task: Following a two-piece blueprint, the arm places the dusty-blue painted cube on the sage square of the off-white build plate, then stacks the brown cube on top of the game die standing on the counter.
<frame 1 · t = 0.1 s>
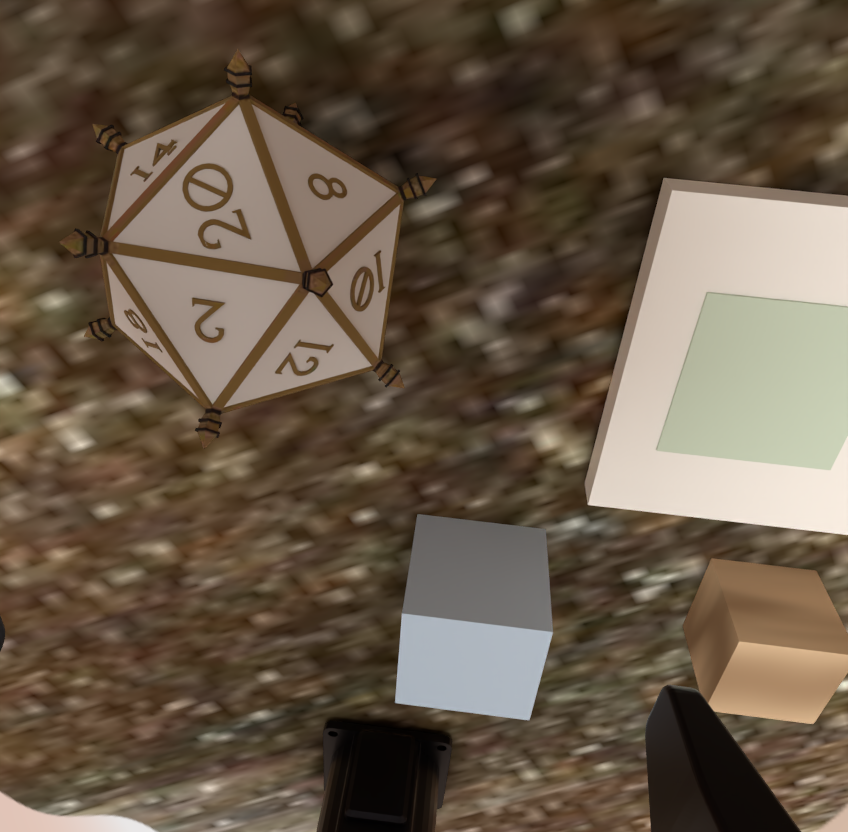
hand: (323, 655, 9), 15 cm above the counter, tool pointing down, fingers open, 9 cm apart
game die: (294, 208, 21), on the counter
brown cube: (745, 597, 28), on the counter
build plate: (760, 366, 22), on the counter
blue block: (474, 565, 29), on the counter
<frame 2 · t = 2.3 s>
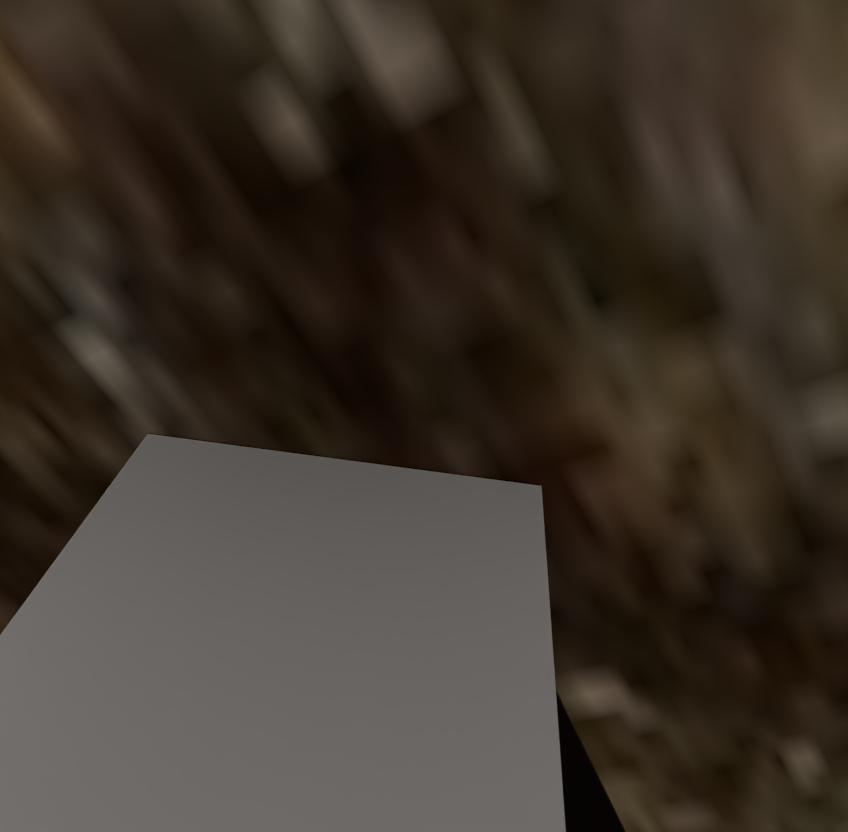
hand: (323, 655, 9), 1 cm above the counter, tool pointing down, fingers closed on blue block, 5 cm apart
blue block: (338, 594, 10), on the counter, touching gripper
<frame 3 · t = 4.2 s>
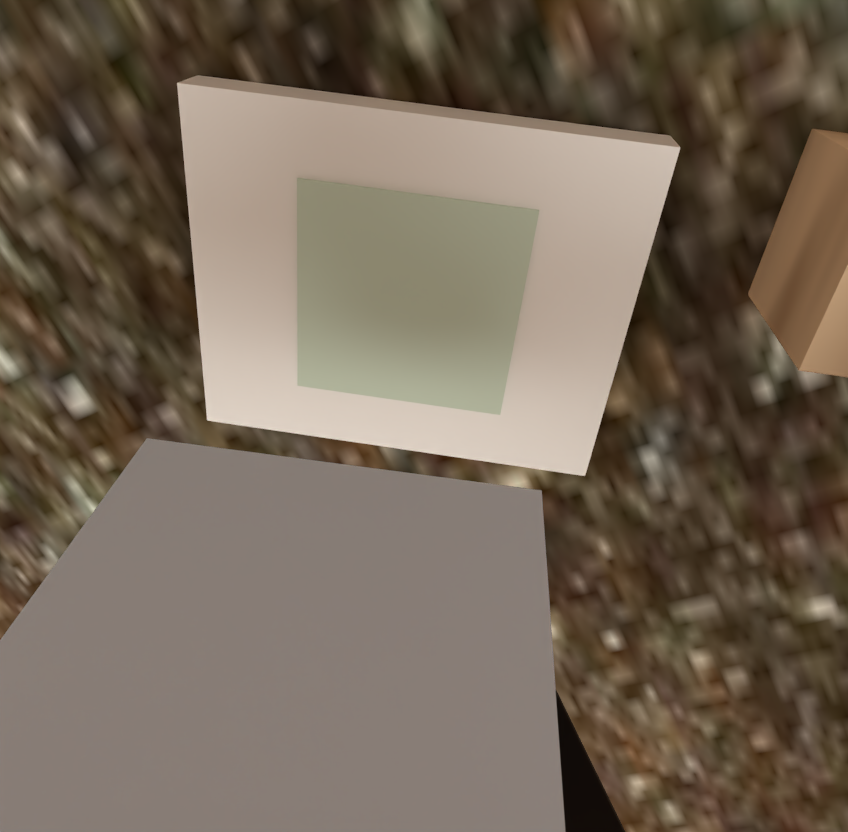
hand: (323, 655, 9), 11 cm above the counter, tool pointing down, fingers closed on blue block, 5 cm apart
build plate: (413, 286, 19), on the counter
blue block: (338, 599, 10), point 10 cm above the counter, touching gripper
when the fingers open (4 cm above the counter, at t = 6.0 s): blue block drops 1 cm, resting on build plate.
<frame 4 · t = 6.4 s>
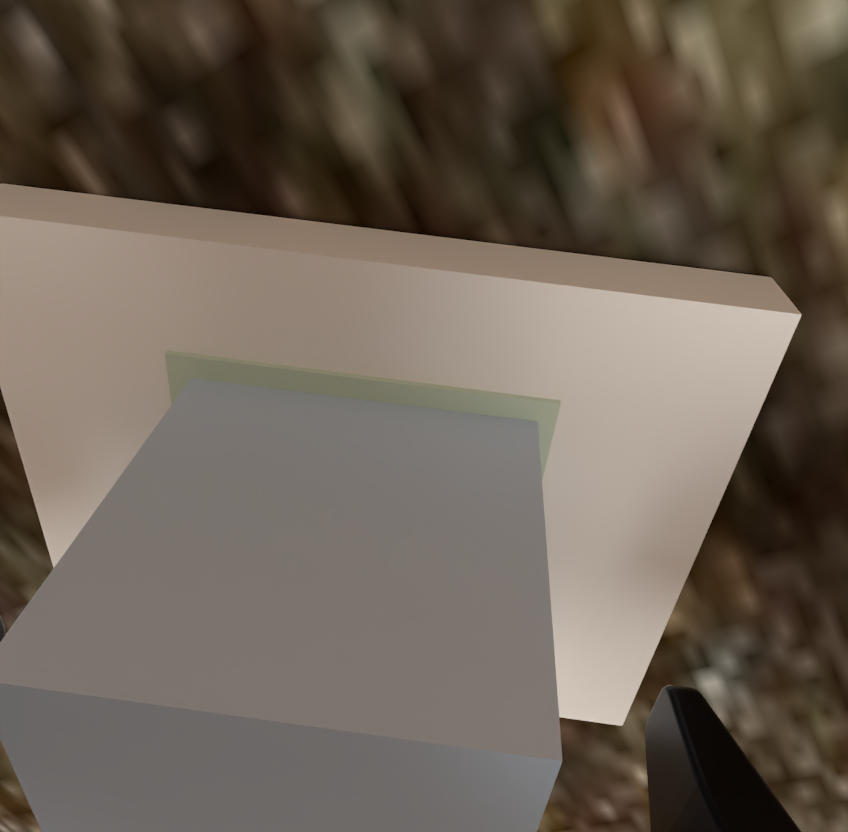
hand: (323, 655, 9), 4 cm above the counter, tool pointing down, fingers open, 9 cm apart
build plate: (367, 475, 12), on the counter
blue block: (357, 528, 11), point 1 cm above the counter, touching build plate
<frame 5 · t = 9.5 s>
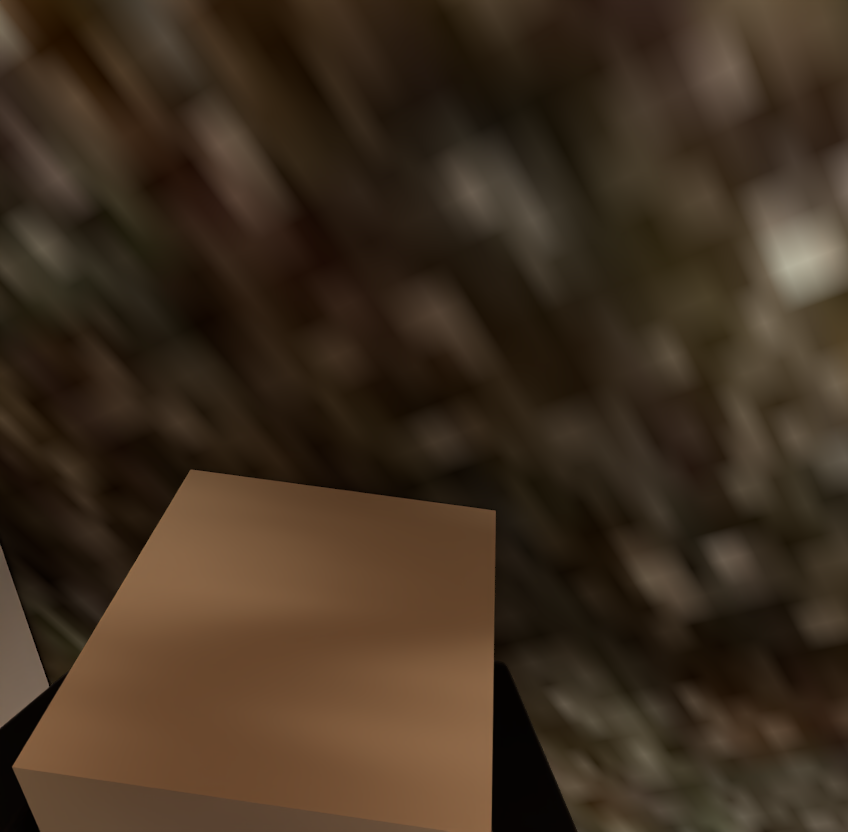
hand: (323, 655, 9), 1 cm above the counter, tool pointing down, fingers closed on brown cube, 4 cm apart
brown cube: (338, 594, 10), on the counter, touching gripper
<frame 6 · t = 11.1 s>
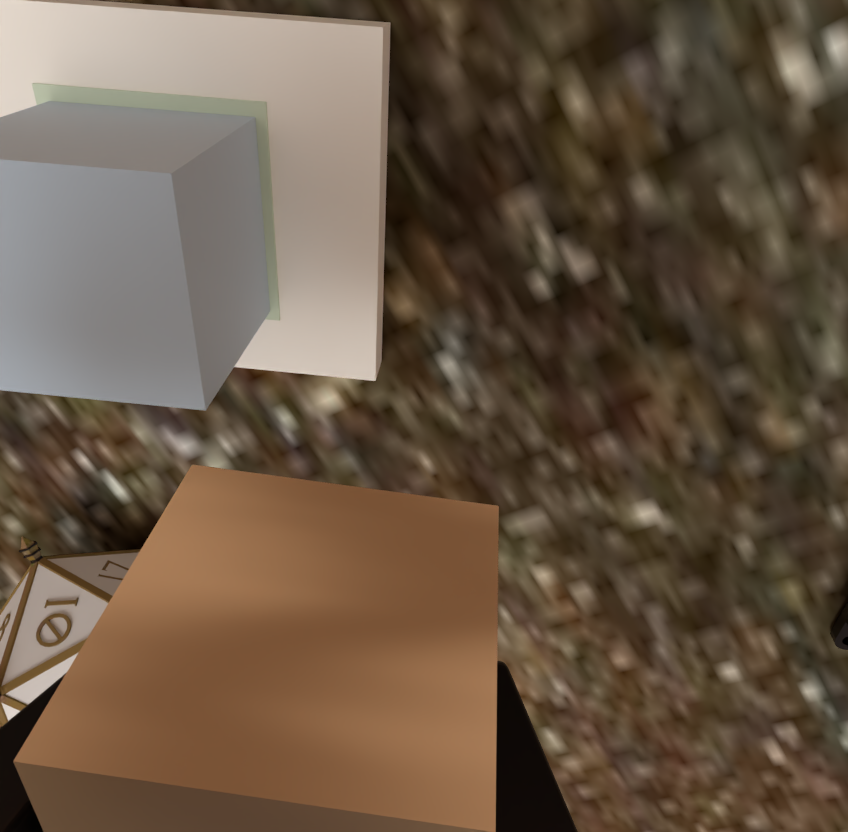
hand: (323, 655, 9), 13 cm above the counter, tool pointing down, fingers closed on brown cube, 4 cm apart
game die: (151, 566, 28), on the counter
brown cube: (340, 590, 10), point 12 cm above the counter, touching gripper
build plate: (184, 196, 19), on the counter
blue block: (167, 213, 18), point 1 cm above the counter, touching build plate
when the fingers open (10 cm above the counter, at t = 12.6 s): brown cube drops 1 cm, resting on game die.
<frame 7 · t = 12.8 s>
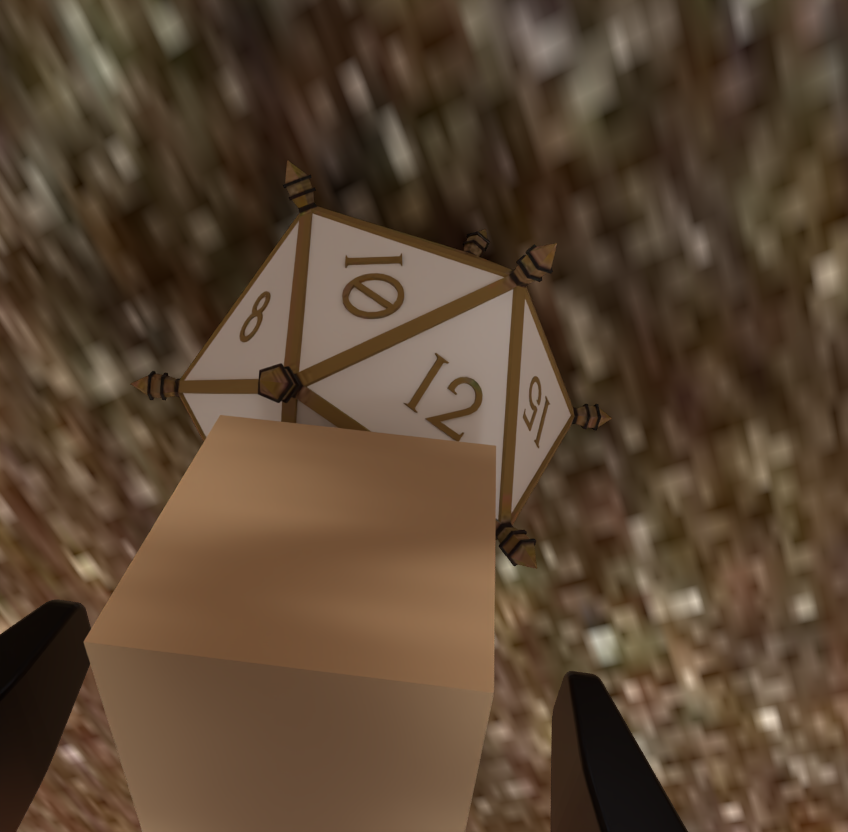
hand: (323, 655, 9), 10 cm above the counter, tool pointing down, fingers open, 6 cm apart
game die: (407, 314, 18), on the counter, touching brown cube
brown cube: (355, 532, 11), point 8 cm above the counter, touching game die
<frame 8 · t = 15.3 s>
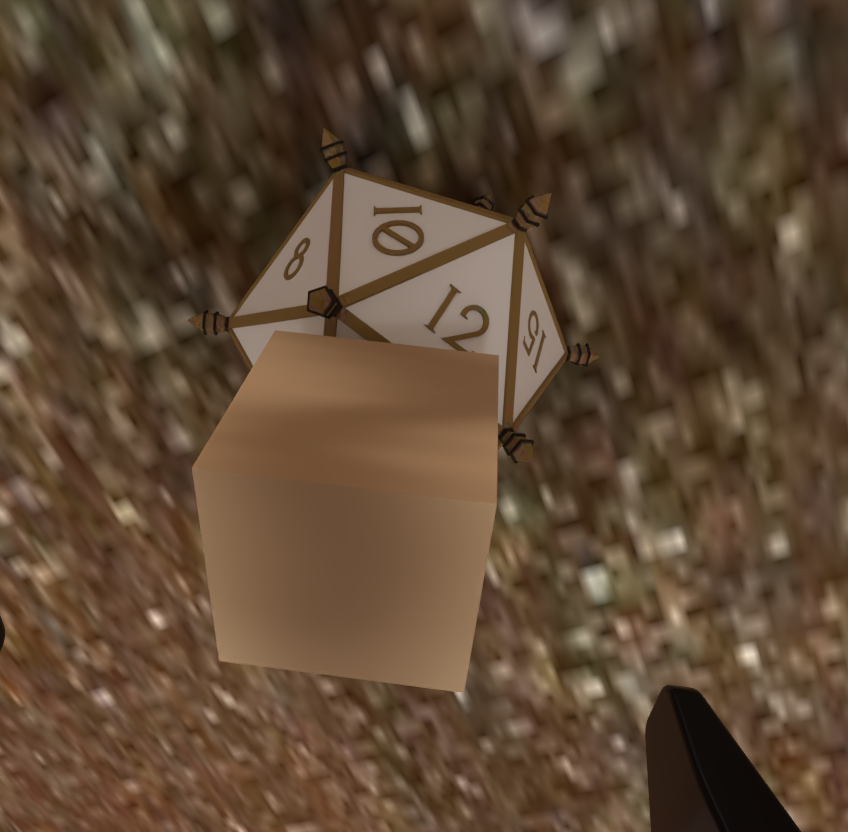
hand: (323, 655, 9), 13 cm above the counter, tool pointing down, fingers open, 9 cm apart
game die: (420, 272, 20), on the counter, touching brown cube
brown cube: (381, 434, 14), point 8 cm above the counter, touching game die
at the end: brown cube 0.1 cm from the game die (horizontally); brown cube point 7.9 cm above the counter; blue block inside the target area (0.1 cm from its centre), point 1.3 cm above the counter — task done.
